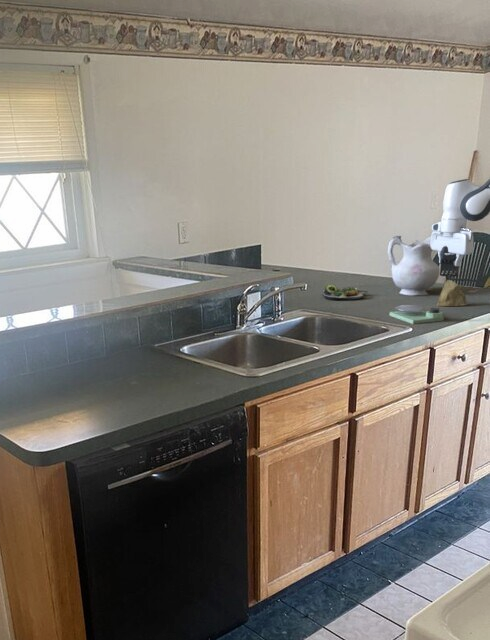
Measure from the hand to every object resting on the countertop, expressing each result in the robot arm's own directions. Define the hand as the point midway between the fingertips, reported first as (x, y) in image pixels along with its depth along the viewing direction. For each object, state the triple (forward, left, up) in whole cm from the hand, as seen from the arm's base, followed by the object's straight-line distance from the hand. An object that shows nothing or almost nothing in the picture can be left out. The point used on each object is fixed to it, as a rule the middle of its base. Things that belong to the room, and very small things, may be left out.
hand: (449, 264), depth 247 cm
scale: (-5, +16, -18) cm, 24 cm away
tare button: (-10, +12, -15) cm, 22 cm away
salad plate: (+42, +21, -18) cm, 50 cm away
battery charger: (0, 0, -5) cm, 5 cm away
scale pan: (-2, +17, -15) cm, 23 cm away
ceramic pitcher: (+35, -9, -18) cm, 41 cm away
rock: (+7, -9, -18) cm, 22 cm away
